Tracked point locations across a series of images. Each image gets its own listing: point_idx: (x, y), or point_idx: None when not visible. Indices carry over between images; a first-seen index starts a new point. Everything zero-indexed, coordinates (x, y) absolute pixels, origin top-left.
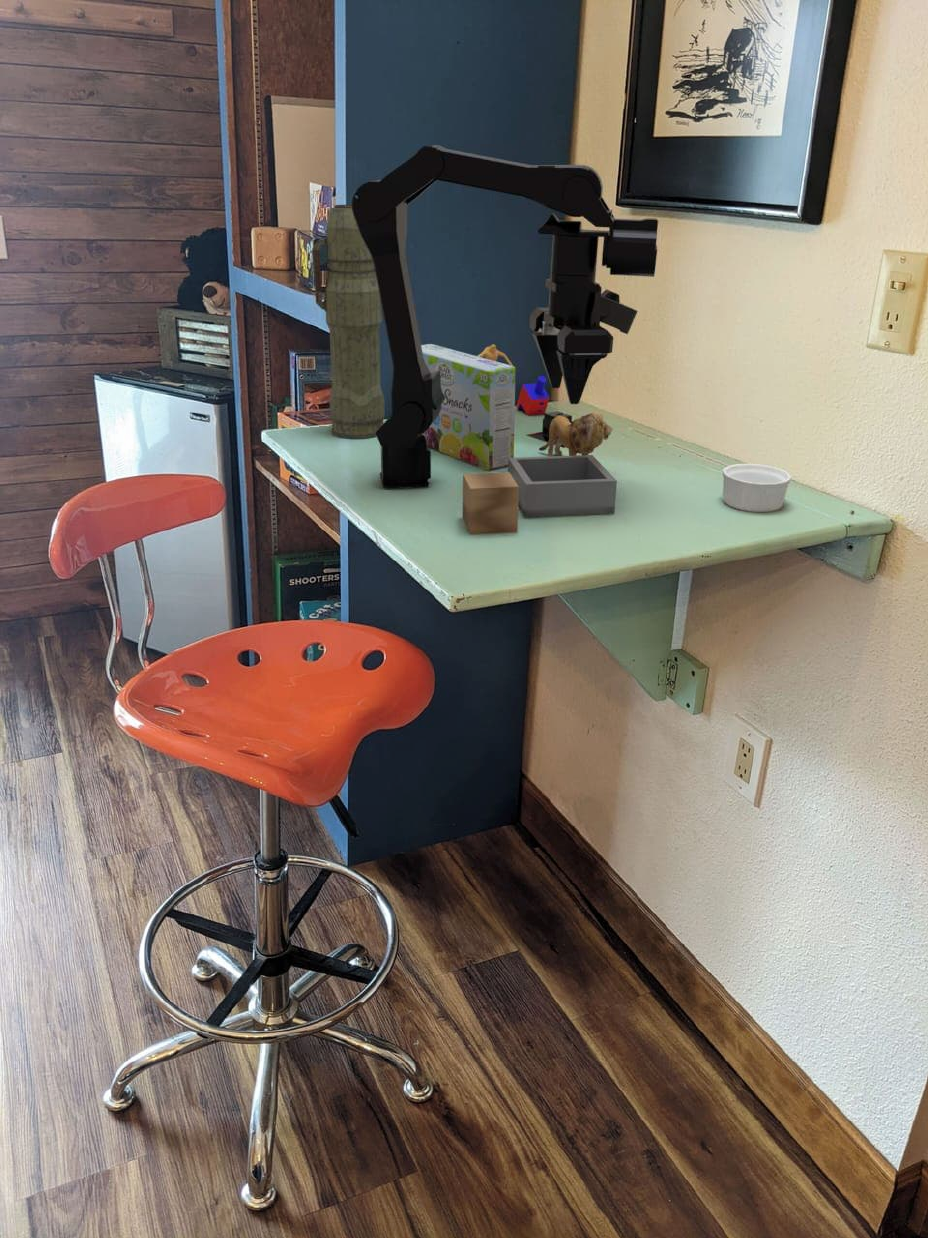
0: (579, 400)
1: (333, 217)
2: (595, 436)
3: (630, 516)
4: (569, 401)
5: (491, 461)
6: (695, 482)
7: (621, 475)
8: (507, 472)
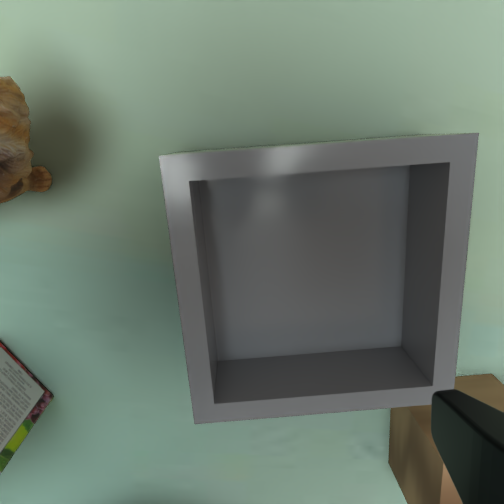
0: (474, 399)
1: None
2: (19, 119)
3: (448, 92)
4: (438, 449)
5: (39, 406)
6: None
7: (63, 21)
8: (445, 467)
